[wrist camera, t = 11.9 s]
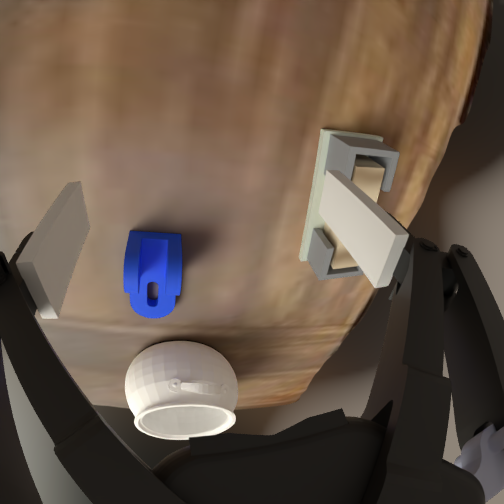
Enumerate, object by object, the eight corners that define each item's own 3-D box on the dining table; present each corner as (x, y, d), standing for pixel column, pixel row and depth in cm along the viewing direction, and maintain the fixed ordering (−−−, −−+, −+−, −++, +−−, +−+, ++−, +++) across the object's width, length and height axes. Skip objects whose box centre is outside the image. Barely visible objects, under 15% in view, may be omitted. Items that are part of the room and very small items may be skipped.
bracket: (130, 230, 44) (122, 265, 37) (181, 233, 47) (182, 269, 40) (132, 309, 54) (129, 346, 47) (173, 311, 57) (175, 347, 50)
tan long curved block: (337, 152, 43) (356, 166, 38) (364, 154, 44) (384, 168, 39) (319, 248, 53) (333, 269, 49) (343, 246, 54) (358, 265, 50)
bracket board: (321, 128, 41) (343, 142, 35) (379, 135, 43) (405, 150, 38) (298, 257, 55) (312, 283, 49) (349, 253, 57) (366, 276, 52)
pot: (206, 396, 80) (214, 445, 68) (117, 383, 69) (117, 437, 56) (253, 339, 67) (271, 399, 55) (140, 317, 56) (138, 387, 43)
